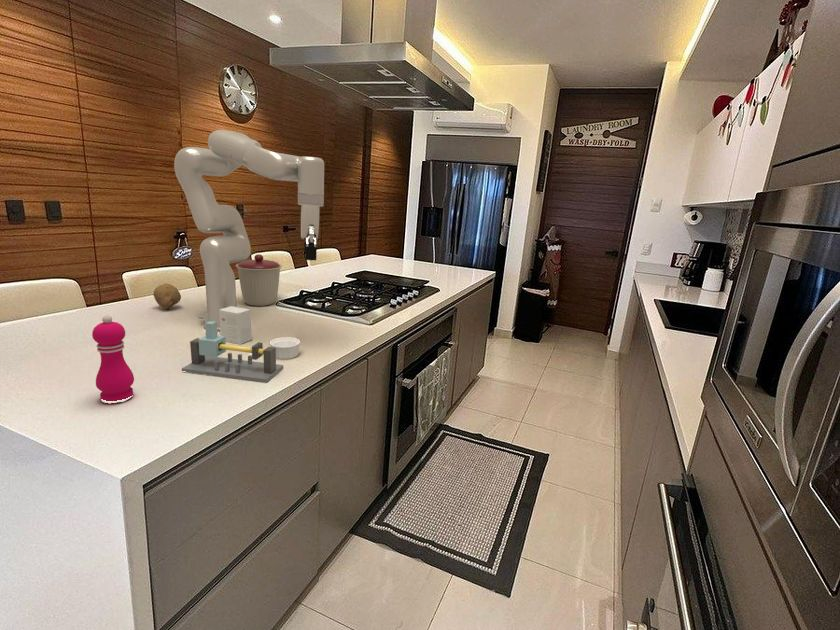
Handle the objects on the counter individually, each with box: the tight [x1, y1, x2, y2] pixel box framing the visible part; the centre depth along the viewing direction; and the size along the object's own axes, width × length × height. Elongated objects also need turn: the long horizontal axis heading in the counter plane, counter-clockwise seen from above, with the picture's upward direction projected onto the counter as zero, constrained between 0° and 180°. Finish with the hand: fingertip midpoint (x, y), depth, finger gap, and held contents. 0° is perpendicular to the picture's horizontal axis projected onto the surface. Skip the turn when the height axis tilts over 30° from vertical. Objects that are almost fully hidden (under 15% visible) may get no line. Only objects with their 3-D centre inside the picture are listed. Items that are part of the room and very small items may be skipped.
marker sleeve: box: [198, 321, 227, 357], centre depth 118 cm, size 5×4×9 cm
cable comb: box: [181, 337, 284, 384], centre depth 119 cm, size 24×10×8 cm, turn 82°
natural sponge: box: [153, 283, 182, 310], centre depth 169 cm, size 9×9×10 cm
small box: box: [219, 306, 253, 345], centre depth 141 cm, size 8×6×10 cm
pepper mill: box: [91, 315, 135, 401], centre depth 98 cm, size 7×7×20 cm
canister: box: [235, 253, 282, 307], centre depth 184 cm, size 18×18×21 cm
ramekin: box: [269, 336, 301, 360], centre depth 133 cm, size 9×9×4 cm
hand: (310, 257), depth 135 cm, fingers open, 9 cm apart
